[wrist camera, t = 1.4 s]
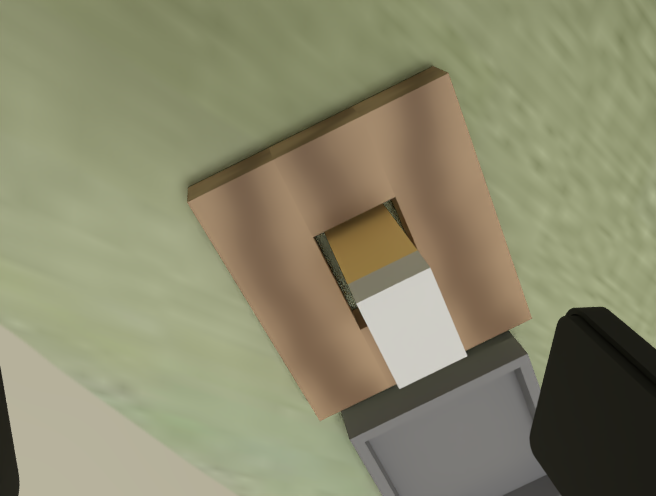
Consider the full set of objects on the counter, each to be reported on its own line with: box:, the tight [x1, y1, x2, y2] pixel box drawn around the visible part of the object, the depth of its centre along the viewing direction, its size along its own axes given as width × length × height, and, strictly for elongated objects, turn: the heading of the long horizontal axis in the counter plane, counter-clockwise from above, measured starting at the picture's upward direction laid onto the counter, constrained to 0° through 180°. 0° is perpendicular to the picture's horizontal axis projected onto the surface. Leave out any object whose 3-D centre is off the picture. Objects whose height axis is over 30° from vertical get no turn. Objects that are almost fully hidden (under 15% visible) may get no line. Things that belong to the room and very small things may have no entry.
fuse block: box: [324, 203, 467, 389], centre depth 36 cm, size 4×6×10 cm, turn 24°
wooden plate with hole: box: [187, 66, 532, 421], centre depth 39 cm, size 16×18×2 cm
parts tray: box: [341, 331, 561, 496], centre depth 48 cm, size 14×16×3 cm
